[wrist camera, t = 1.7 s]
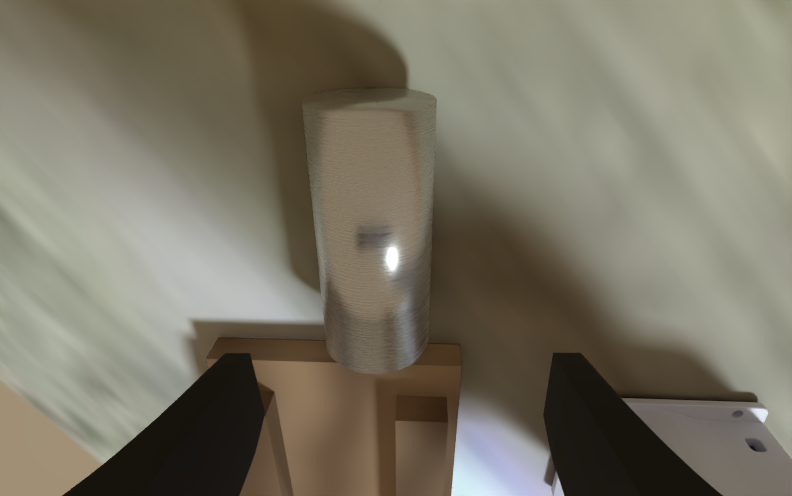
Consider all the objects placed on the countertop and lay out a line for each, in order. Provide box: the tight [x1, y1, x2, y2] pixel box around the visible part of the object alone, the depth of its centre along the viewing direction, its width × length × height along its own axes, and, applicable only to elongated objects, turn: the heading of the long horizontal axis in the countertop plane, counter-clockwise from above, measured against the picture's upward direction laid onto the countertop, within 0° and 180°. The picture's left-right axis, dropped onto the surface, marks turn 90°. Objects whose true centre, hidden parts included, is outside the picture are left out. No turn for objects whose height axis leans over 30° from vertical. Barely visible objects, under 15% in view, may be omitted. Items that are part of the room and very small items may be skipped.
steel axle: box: [302, 88, 437, 374], centre depth 18 cm, size 4×10×4 cm
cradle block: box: [206, 338, 462, 496], centre depth 26 cm, size 12×18×3 cm, turn 0°
